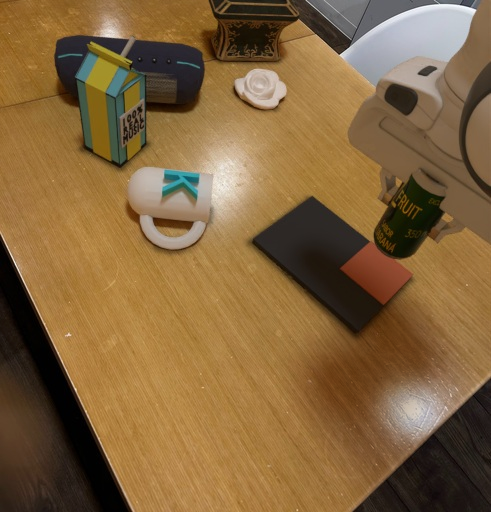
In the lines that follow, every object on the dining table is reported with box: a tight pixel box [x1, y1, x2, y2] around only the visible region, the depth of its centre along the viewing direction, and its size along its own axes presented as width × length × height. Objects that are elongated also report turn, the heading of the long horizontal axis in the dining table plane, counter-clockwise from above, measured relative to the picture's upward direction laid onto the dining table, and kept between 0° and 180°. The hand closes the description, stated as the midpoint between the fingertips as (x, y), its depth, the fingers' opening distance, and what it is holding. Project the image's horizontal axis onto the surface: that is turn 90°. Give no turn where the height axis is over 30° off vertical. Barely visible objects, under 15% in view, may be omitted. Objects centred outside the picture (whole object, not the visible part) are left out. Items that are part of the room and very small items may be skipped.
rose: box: [233, 68, 288, 110], centre depth 93 cm, size 10×4×10 cm
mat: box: [251, 195, 414, 334], centre depth 74 cm, size 20×14×1 cm
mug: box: [126, 166, 214, 250], centre depth 71 cm, size 12×9×12 cm
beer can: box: [373, 168, 448, 261], centre depth 53 cm, size 5×5×12 cm
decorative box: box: [208, 0, 301, 62], centre depth 95 cm, size 20×10×20 cm, turn 103°
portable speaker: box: [53, 34, 206, 105], centre depth 85 cm, size 25×10×10 cm, turn 96°
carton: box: [75, 35, 148, 169], centre depth 74 cm, size 7×8×18 cm
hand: (409, 217), depth 54 cm, fingers closed on beer can, 5 cm apart
